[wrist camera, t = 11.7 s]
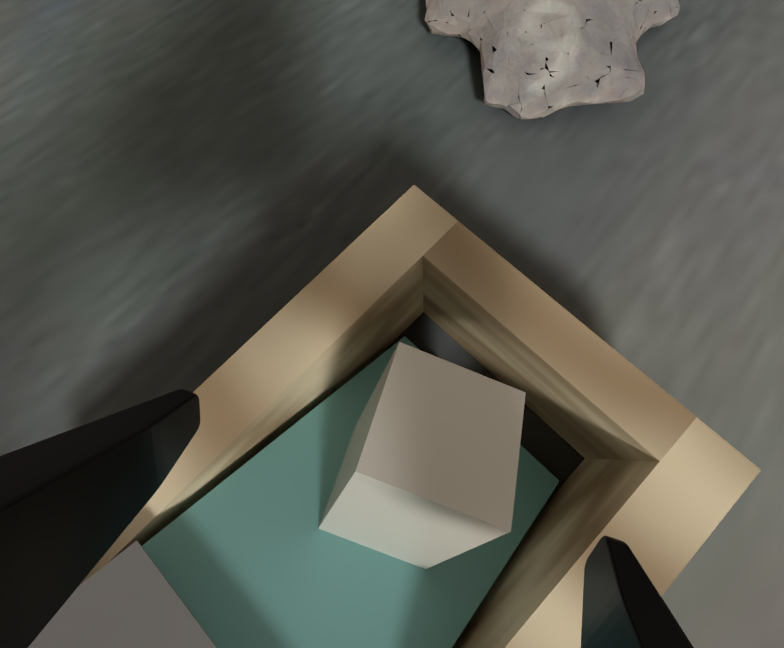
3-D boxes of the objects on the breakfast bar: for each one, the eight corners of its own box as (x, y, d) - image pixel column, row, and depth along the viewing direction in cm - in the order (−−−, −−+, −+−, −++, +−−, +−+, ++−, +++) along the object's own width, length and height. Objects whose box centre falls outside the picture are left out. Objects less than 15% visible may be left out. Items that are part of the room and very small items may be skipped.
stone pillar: (425, 569, 18) (510, 531, 12) (318, 528, 17) (355, 471, 12) (447, 462, 20) (525, 392, 15) (355, 426, 20) (399, 341, 15)
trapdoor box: (301, 883, 19) (225, 1148, 12) (89, 578, 22) (-68, 637, 15) (652, 464, 22) (760, 470, 15) (417, 258, 26) (414, 184, 19)
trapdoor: (224, 961, 12) (221, 1028, 10) (30, 652, 15) (-6, 652, 13) (539, 491, 23) (571, 474, 20) (395, 353, 25) (410, 325, 23)
